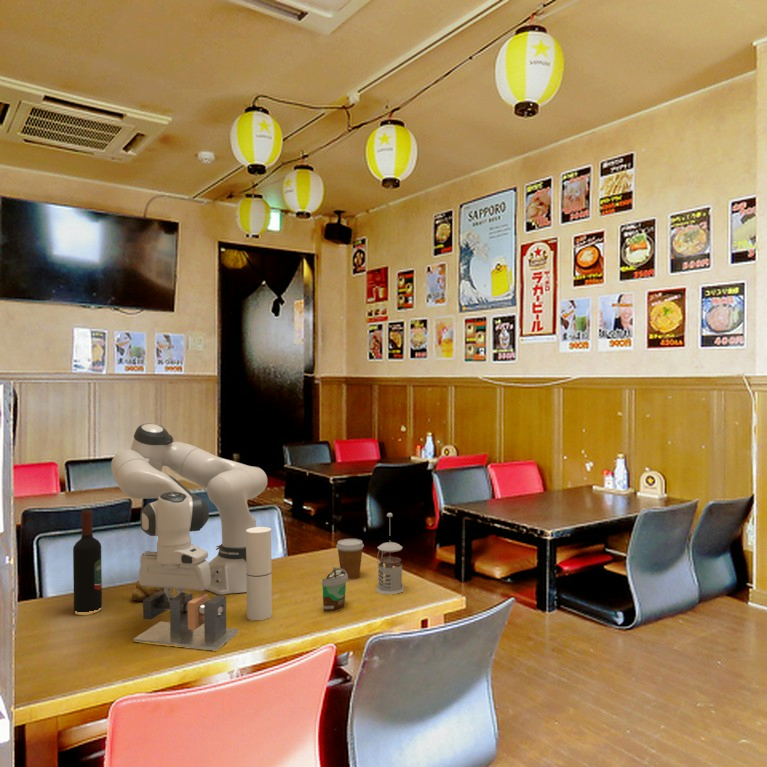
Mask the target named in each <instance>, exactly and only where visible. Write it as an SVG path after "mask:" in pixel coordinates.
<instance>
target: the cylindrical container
mask: <svg viewBox="0 0 767 767" xmlns="http://www.w3.org/2000/svg"><path fill="white" fill-rule="evenodd" d="M246 578H247V592H246V618H247V620H249V619H250V620H249V621H254V620H260V621H264V619H265V620H268V619H270V618H271V617H272V616H273V599H272V597H273V595H272V593H273V591H272V590H273V589H272V582H273V580H272V578H273V577H272V528H271V527H266V526H256V527H254V528H249V529H247V530H246ZM267 618H268V619H267Z"/></svg>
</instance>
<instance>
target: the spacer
mask: <svg viewBox="0 0 767 767" xmlns="http://www.w3.org/2000/svg"><path fill="white" fill-rule="evenodd" d="M209 597H210V596H209V593H200V594H198V595H196V596H195V597H194V598H193V599H192V600H191V601H189V602H188V629H189V630H196V629H197V628H198V627H200V626H201V625H202V626H203V625H204V613H198V607H200V606H201V605H204V603H205V602H207V601H208V600H210V598H209Z"/></svg>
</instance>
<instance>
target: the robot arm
mask: <svg viewBox="0 0 767 767" xmlns="http://www.w3.org/2000/svg"><path fill="white" fill-rule="evenodd" d="M110 464H111V466H110V467H111V472H112V473H111V474H112V475H113V478H114V481H115V483H116V484H117V487H118V488H119V490H120V491H121V492H122V493H123V494H125V495H126V496H128V497H129V498H131V499H132V498H133V499H140V500H141V499H147V500H148V499H157V500H155V501H153V502H150V503H149V502H148V503H147V504H146V505H145V506H144V507H143V509H142V510H141V511H140V527H141V528H140V529H141V530H142V531H143V532H144V533H145V534H146V535H148V536H150V537H157V541H156V551H150V550H149V551H148V550H147V551H145V552H143V553H142V554H141V555H140V566H139V572H138V573H139V574H138V580H139V583H140V584H141V586H149V587H161V588H164V592H165V594H166V596H167V598H168V602H170V600H171V599H173V598H174V597H176V596H178V595H179V594H181V593H185V591H186V590H187V591H196V592H199V591H200V592H203V591H209V592H211V593H213V594H216V595H218V596H223V595H227V594H228V595H229V594H238V593H247V578H246V530H247V529H249V528H254V527H257V520H256V518H255V516H253V515H252V514H251V512H250V509H249V506H248V500H252V499H254V498H256V497H258V496H259V495H260V494H262V493H263V492H264V491H265V490H266V488H267V487H268V476H267V474H266V472H265V471H264V470H263V469H262V468H260V467H259V466H251V465H247V464H244V463H241V462H237V461H234V460H230V459H226V458H223V457H219V456H217V455H216V454H215V455H214V454H212V453H211V452H208V451H206V450H204V449H202V448H200V447H198V446H196V445H193V444H189V443H186V442H181V441H174V438H173V436H172V435H171V434H170V433H169V432H168V429H166V428H165V427H163V426H162V425H159V424H157V423H143V424H141V425H139V426H138V427H137V428H136V430H135V432H134V434H133V441H132V444H131V447H130V449H123V450H121V451H118V452H117V453H116V454H115V455H114V456H113V457H112V459H111V463H110ZM163 467H168V468H169V470H171V471H172V472H174V473H176V474H177V475H179V476H181V477H182V478H184V479H186V480H188V481H190V482H192V483H195V484H196V485H198V486H199V487H202V488H206V493H207V494H206V495H207V497H208V499H209V500H210V502H211V503H212V504H214V506H215V507H216V509H217V511H218V514H219V518H220V524H221V525H220V526H221V543H220V545H216V546H215V550H216V551H217V550H218V552H217V555H216V556H215V557H213V559H211V560H210V561H209V562H208V561H207V560H206V559H208V557H209V552H208V551H207V550H205V549H204V548H201V547H199V546H197V545H194V544H192V539H191V538H192V537H191V536H190V532H199V531H200V530H202V529H203V527H205V525H206V524H207V522H208V520H209V518H210V510H209V507H208V504H207V502H206V501H205V500H204V499H203V498H202V497H200V496H199V495H196V494H194V493H192V492H191V491H190V490H189V489H187V487H186V486H184V484H182V483H181V482H180V481H178V479H176V478H175V477H173V476H171V475H169V474H167V473H165V472H163ZM173 589H175V592H176V595H174V593H173V591H172V590H173Z"/></svg>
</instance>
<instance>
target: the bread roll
mask: <svg viewBox="0 0 767 767" xmlns="http://www.w3.org/2000/svg"><path fill="white" fill-rule="evenodd" d="M161 590H162V591H164V588H161V587H149V586H141V584H140V583H139V579H138V580H137V581H136V583H135V588H134V589H133V590H132V591H131V595H130V596H131V599H132V600H133V601H135V600H136V601H135V602H143V600H145V599H146V598H148V597H150V596H152V595H153V594H155V593H157V592H159V591H161Z"/></svg>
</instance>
